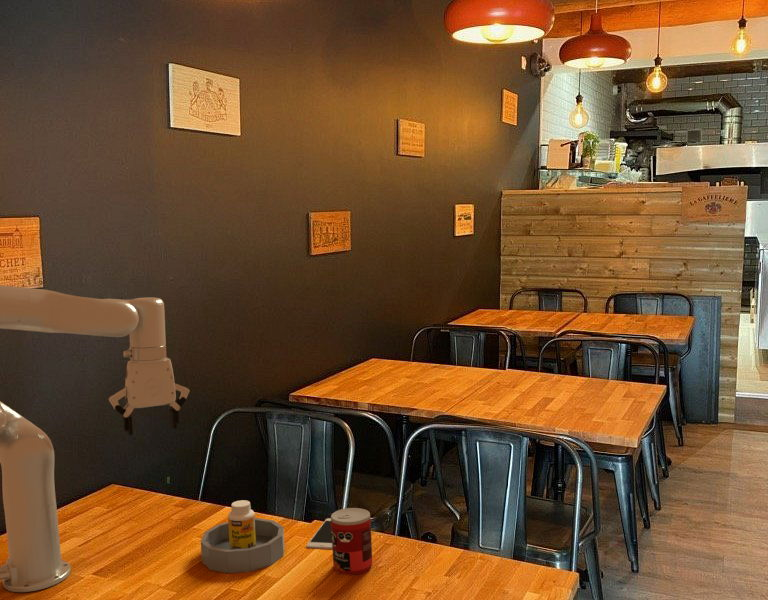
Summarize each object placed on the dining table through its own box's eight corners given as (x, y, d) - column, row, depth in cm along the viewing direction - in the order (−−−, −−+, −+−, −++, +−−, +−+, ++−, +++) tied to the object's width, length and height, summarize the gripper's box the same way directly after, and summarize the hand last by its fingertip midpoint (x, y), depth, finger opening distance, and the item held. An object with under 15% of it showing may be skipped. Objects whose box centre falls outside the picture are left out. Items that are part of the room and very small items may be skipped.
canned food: (328, 563, 156) (325, 512, 155) (364, 555, 159) (361, 504, 158) (341, 579, 149) (338, 525, 148) (378, 570, 152) (376, 517, 151)
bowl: (221, 580, 150) (220, 558, 150) (191, 552, 164) (190, 532, 164) (298, 556, 160) (296, 535, 159) (263, 531, 174) (262, 512, 173)
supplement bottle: (228, 556, 159) (226, 509, 158) (230, 545, 164) (228, 499, 163) (255, 554, 159) (253, 507, 158) (256, 543, 165) (254, 497, 164)
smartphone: (306, 549, 164) (305, 545, 164) (326, 521, 179) (326, 517, 179) (337, 551, 162) (337, 547, 162) (356, 522, 177) (355, 518, 177)
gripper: (111, 360, 159) (114, 440, 160) (192, 352, 167) (195, 428, 169) (103, 355, 165) (107, 432, 166) (182, 348, 174) (185, 421, 175)
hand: (151, 430), depth 168 cm, fingers open, 9 cm apart
